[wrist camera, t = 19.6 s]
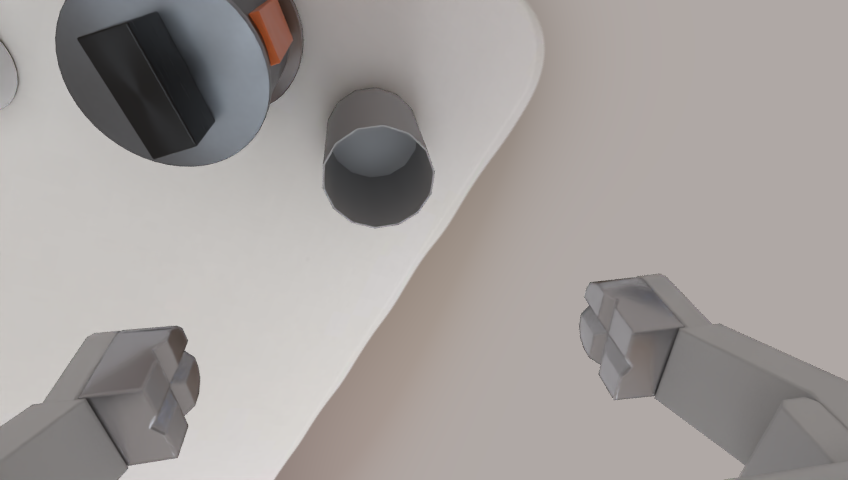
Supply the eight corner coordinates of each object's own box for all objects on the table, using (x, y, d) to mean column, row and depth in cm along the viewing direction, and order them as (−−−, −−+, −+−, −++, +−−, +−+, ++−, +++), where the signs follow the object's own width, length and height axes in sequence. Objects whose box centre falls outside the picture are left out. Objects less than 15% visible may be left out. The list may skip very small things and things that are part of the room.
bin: (257, -65, 33) (190, -69, 19) (314, 83, 39) (295, 163, 25) (114, -19, 33) (-56, 9, 19) (192, 120, 39) (105, 220, 25)
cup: (355, 69, 40) (357, 102, 32) (434, 117, 44) (455, 159, 35) (311, 150, 44) (302, 199, 35) (388, 189, 47) (396, 243, 38)
